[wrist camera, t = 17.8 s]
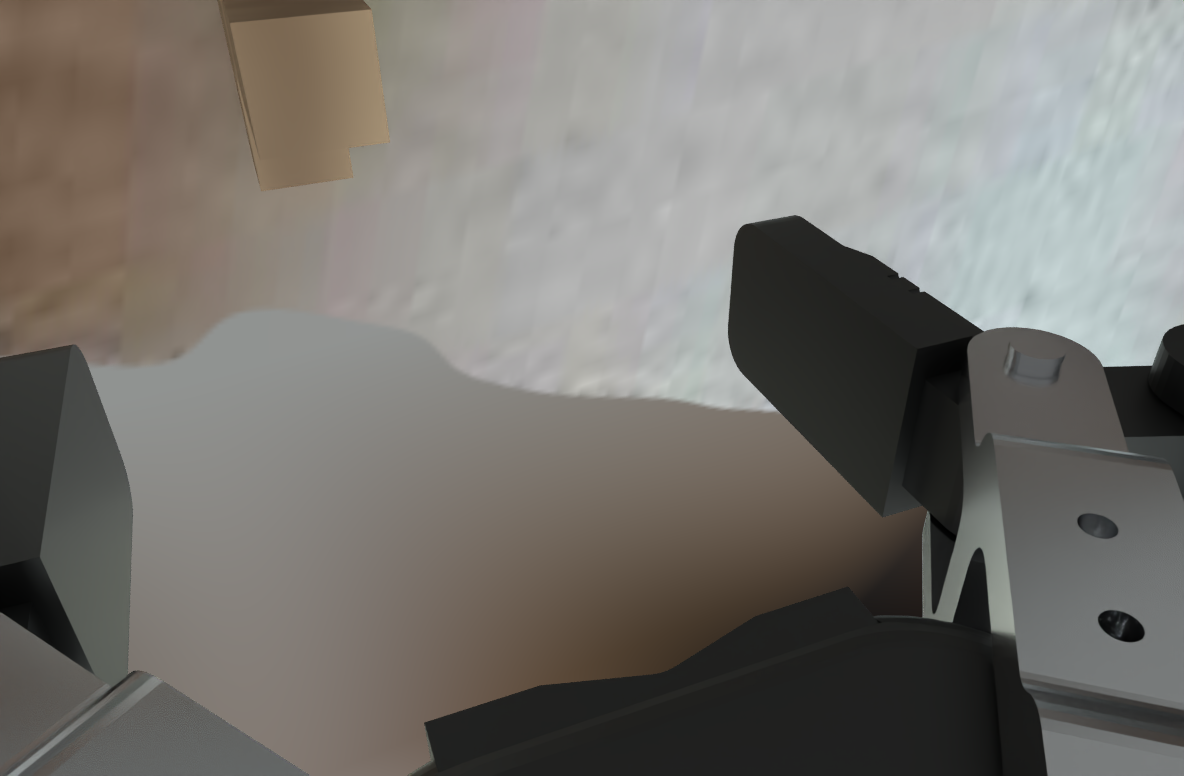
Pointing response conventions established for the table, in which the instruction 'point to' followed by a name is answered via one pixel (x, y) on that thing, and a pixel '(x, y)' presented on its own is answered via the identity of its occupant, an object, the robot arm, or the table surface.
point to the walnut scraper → (305, 85)
